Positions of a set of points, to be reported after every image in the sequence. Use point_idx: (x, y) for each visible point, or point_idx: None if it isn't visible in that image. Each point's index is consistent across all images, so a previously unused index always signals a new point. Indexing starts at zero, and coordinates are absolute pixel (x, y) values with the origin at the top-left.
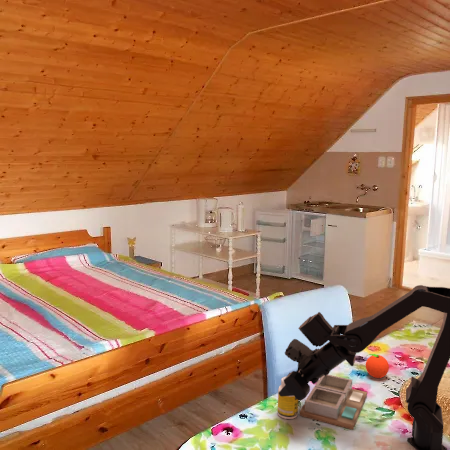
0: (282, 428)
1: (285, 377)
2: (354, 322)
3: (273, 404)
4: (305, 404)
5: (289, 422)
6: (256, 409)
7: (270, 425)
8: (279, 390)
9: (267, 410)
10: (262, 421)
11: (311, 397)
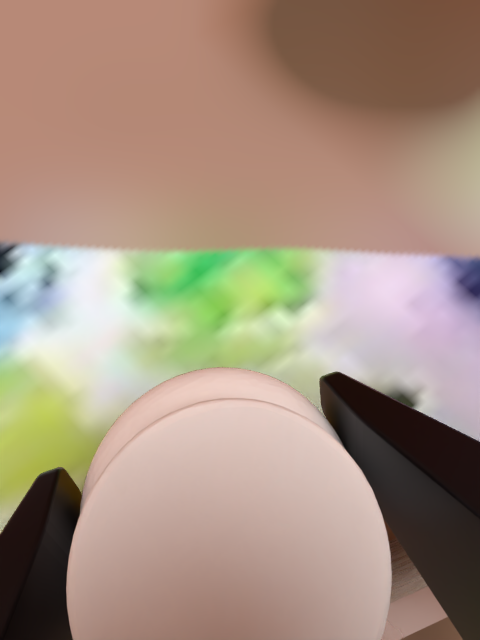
0: None
1: (259, 443)
2: None
3: (245, 307)
4: None
5: None
6: (113, 267)
7: (7, 466)
8: (100, 444)
9: (155, 326)
10: (14, 391)
11: (442, 608)
